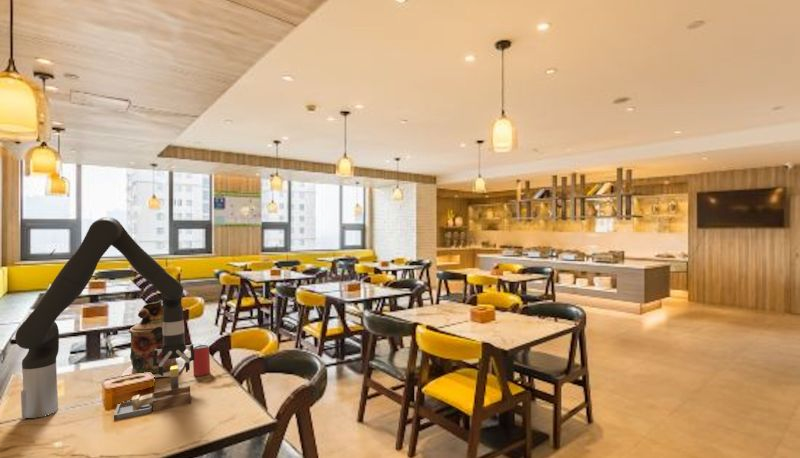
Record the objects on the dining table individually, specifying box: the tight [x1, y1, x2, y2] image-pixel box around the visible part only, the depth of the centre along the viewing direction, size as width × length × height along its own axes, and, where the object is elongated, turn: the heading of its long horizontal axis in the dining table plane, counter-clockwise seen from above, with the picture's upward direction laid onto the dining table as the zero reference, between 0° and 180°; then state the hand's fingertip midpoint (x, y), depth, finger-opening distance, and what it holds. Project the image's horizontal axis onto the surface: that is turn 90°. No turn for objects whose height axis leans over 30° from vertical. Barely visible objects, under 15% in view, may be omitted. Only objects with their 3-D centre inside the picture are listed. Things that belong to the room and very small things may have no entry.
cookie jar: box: [120, 299, 190, 379], centre depth 192 cm, size 25×25×32 cm
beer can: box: [192, 344, 211, 377], centre depth 186 cm, size 7×7×12 cm
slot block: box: [152, 385, 192, 412], centre depth 157 cm, size 12×9×4 cm
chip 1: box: [131, 394, 141, 411], centre depth 151 cm, size 4×4×2 cm
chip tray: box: [113, 400, 153, 421], centre depth 151 cm, size 11×12×2 cm
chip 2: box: [139, 392, 154, 406], centre depth 153 cm, size 4×4×2 cm
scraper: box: [169, 365, 180, 389], centre depth 166 cm, size 3×4×10 cm, turn 26°
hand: (174, 373), depth 166 cm, fingers open, 8 cm apart
